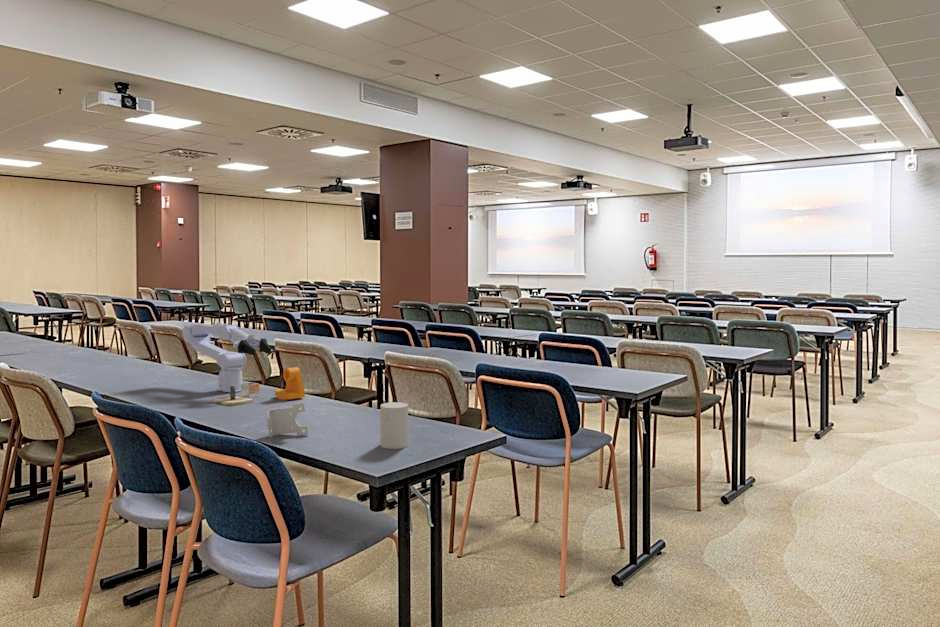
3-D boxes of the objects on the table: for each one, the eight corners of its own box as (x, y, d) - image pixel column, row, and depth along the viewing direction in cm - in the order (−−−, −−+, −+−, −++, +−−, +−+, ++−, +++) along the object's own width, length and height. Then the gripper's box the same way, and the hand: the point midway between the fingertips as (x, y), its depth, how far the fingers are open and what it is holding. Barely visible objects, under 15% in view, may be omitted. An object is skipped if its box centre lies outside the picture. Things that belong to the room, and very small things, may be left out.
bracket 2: (269, 440, 215) (265, 408, 214) (275, 437, 219) (271, 405, 218) (304, 437, 213) (299, 405, 213) (309, 434, 218) (304, 402, 217)
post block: (211, 402, 266) (211, 386, 266) (234, 397, 274) (234, 382, 274) (231, 406, 259) (231, 390, 259) (253, 401, 267) (253, 386, 267)
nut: (240, 396, 277) (240, 383, 277) (251, 394, 281) (251, 382, 281) (249, 397, 275) (248, 385, 274) (259, 395, 279) (259, 383, 278)
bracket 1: (274, 397, 276) (273, 367, 275) (290, 395, 282) (289, 365, 281) (288, 401, 269) (288, 370, 268) (304, 399, 274) (304, 368, 273)
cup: (381, 441, 211) (381, 402, 210) (408, 441, 212) (408, 402, 211) (379, 448, 203) (379, 408, 202) (407, 448, 203) (407, 407, 202)
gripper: (228, 331, 276) (248, 343, 269) (259, 329, 288) (279, 341, 280) (225, 347, 278) (245, 360, 270) (256, 345, 289) (275, 358, 282)
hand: (262, 352), depth 275 cm, fingers open, 7 cm apart
